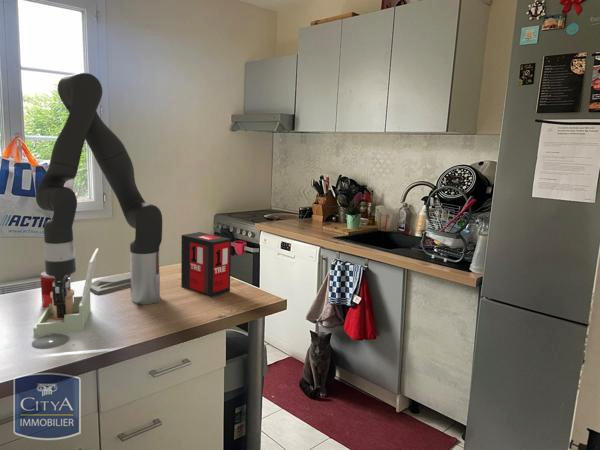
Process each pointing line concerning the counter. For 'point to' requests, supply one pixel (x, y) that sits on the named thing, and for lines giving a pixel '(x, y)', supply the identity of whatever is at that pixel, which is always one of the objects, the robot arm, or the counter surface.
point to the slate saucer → (50, 341)
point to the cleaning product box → (205, 263)
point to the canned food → (46, 288)
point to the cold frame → (70, 321)
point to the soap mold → (111, 284)
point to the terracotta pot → (68, 304)
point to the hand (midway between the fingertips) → (63, 313)
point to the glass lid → (89, 275)
